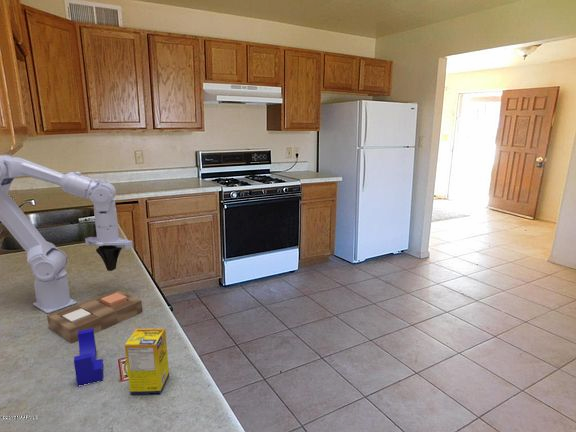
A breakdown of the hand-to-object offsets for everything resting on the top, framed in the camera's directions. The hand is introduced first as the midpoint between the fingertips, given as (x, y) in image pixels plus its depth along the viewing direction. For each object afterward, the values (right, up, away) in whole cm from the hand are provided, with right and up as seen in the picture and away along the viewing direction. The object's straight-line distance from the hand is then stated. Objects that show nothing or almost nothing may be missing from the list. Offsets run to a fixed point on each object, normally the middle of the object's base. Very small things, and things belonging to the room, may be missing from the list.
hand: (111, 269), depth 109 cm
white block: (-2, -13, -14) cm, 19 cm away
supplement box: (+24, -18, -35) cm, 46 cm away
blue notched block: (+10, -17, -29) cm, 35 cm away
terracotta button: (+4, -10, -6) cm, 13 cm away
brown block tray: (+1, -12, -10) cm, 16 cm away
